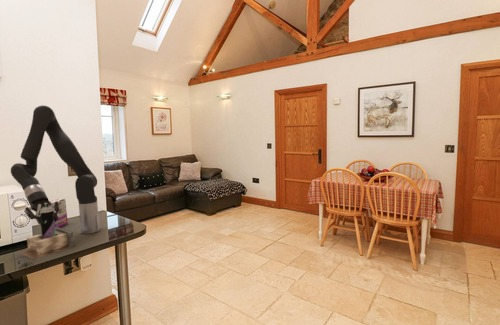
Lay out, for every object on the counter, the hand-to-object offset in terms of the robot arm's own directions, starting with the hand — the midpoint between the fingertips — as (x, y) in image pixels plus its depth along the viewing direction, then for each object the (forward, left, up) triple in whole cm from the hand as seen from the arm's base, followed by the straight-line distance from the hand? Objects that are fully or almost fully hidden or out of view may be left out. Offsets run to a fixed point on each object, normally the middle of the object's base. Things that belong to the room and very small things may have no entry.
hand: (49, 222), depth 132 cm
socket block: (+2, -1, -13) cm, 13 cm away
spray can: (+1, -1, -11) cm, 12 cm away
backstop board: (+2, 0, -14) cm, 14 cm away
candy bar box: (+9, -40, -14) cm, 43 cm away
